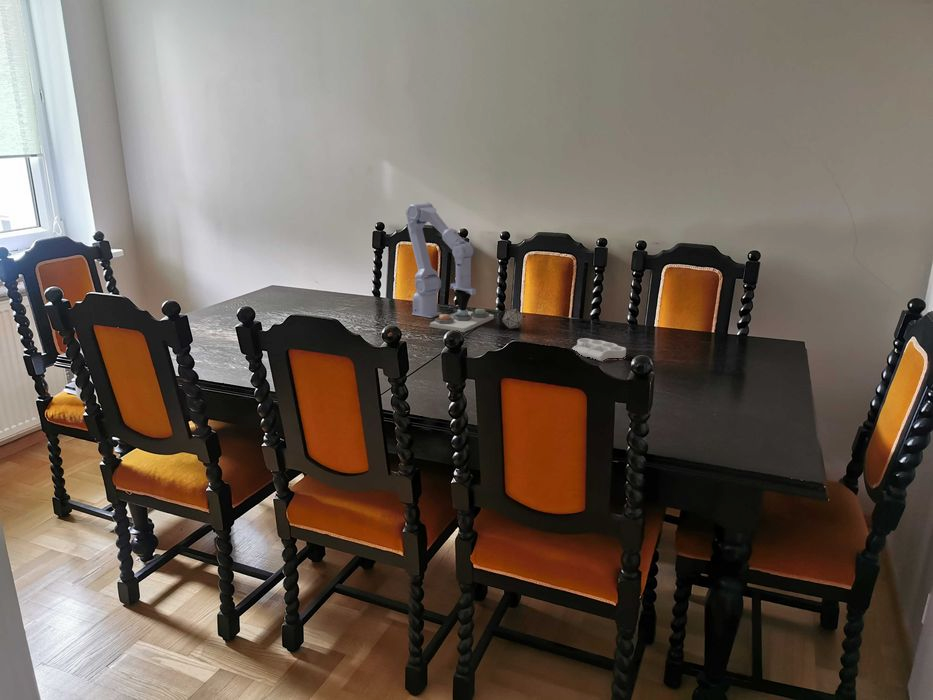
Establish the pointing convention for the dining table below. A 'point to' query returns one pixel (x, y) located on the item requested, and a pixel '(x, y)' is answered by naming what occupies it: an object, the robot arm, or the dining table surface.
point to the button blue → (462, 313)
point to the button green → (479, 311)
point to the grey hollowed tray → (599, 349)
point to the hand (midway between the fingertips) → (462, 309)
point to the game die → (512, 318)
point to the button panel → (462, 321)
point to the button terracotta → (444, 317)
